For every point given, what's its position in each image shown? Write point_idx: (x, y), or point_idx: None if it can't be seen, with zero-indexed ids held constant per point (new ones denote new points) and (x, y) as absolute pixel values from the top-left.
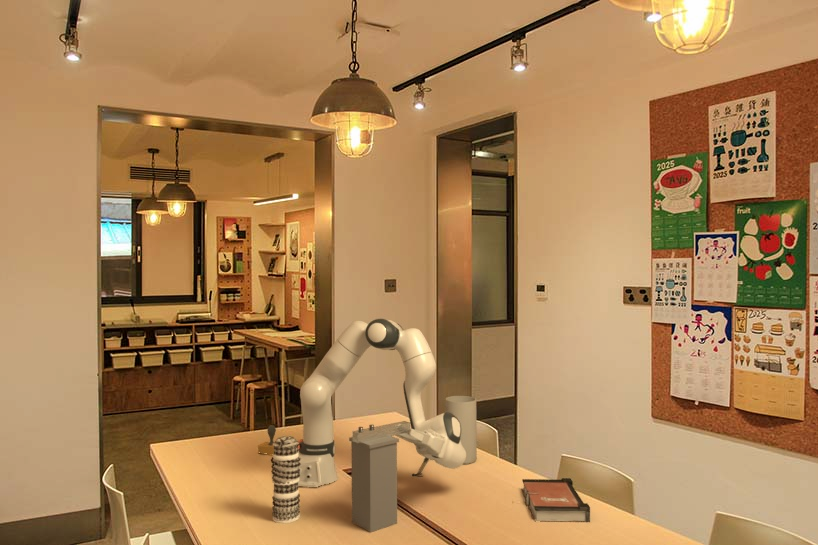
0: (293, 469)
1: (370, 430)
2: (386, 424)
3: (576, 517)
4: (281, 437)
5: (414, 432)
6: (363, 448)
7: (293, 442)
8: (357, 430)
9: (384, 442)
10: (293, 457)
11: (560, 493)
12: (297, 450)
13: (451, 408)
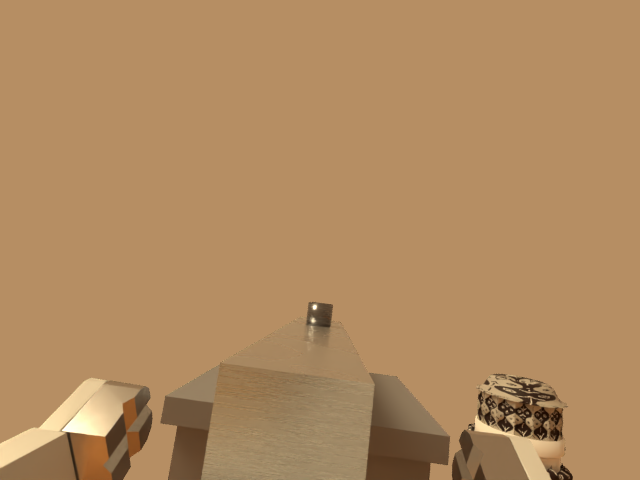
0: None
1: (298, 320)
2: (350, 341)
3: None
4: (535, 381)
5: (56, 427)
6: None
7: (495, 387)
8: (339, 323)
9: (210, 371)
10: (480, 430)
11: None
12: (512, 427)
13: None
